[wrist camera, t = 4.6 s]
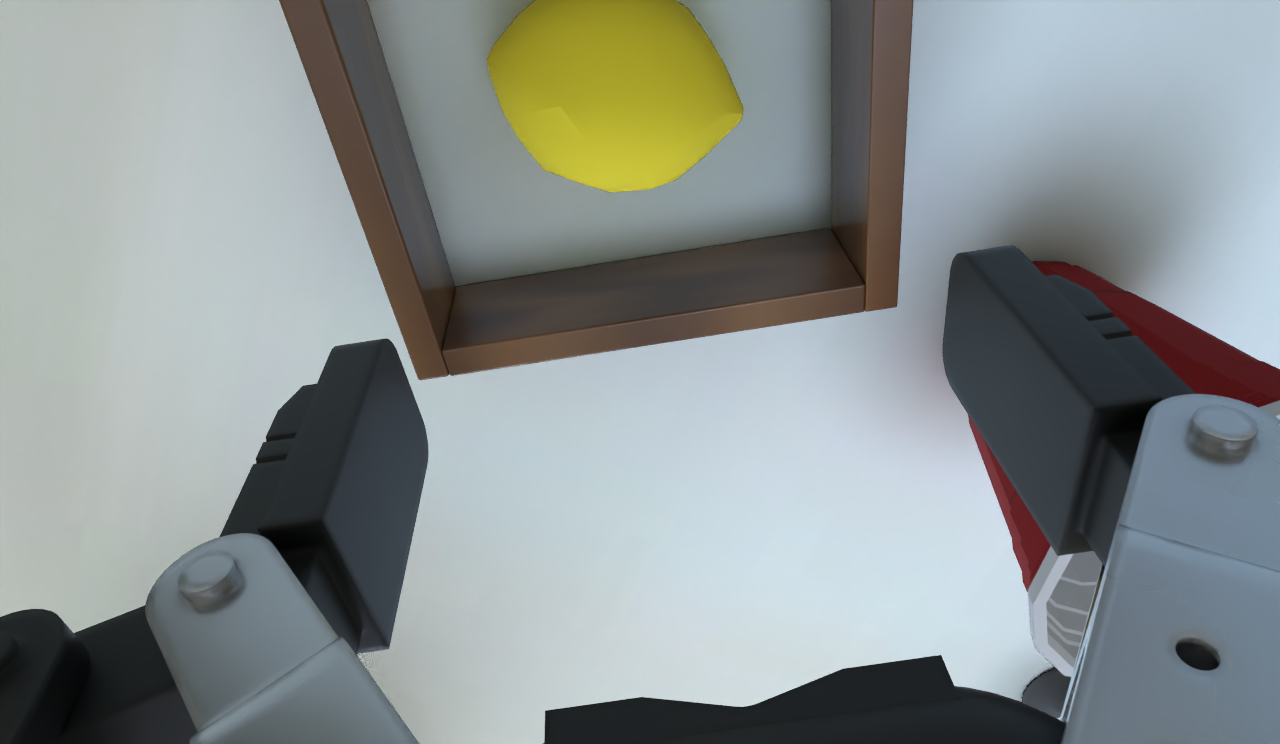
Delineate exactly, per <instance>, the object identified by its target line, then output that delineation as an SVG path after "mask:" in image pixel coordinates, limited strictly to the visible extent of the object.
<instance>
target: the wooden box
mask: <svg viewBox="0 0 1280 744" xmlns="http://www.w3.org/2000/svg"><path fill="white" fill-rule="evenodd" d="M279 1H280V4H281V7H282V10H283V12H284V15H285V18H286V20H287V23H288V26H289V29H290V31H291V34H292V37H293V39H294V42H295V45H296V48H297V50H298V53H299V56H300V59H301V61H302V64H303V67H304V69H305V72H306V75H307V78H308V80H309V83H310V86H311V89H312V91H313V94H314V97H315V99H316V102H317V105H318V108H319V110H320V113H321V116H322V118H323V121H324V124H325V127H326V129H327V132H328V135H329V138H330V140H331V143H332V146H333V148H334V151H335V154H336V157H337V159H338V162H339V165H340V167H341V170H342V173H343V176H344V178H345V181H346V184H347V187H348V189H349V192H350V195H351V197H352V200H353V203H354V206H355V208H356V211H357V214H358V216H359V219H360V222H361V225H362V227H363V230H364V233H365V236H366V238H367V241H368V244H369V246H370V249H371V252H372V255H373V257H374V260H375V263H376V266H377V268H378V271H379V274H380V276H381V279H382V282H383V285H384V287H385V290H386V293H387V295H388V298H389V301H390V304H391V306H392V309H393V312H394V315H395V317H396V320H397V323H398V325H399V328H400V331H401V334H402V336H403V339H404V342H405V344H406V347H407V350H408V353H409V355H410V358H411V361H412V364H413V366H414V369H415V372H416V374H417V377H418V379H419V380H426V379H433V378H439V377H446V376H448V375H449V374H450V375H451V376H454V375H461V374H467V373H473V372H480V371H486V370H493V369H499V368H506V367H512V366H518V365H525V364H531V363H538V362H544V361H551V360H557V359H564V358H570V357H576V356H583V355H589V354H596V353H602V352H609V351H615V350H621V349H628V348H634V347H641V346H647V345H654V344H660V343H667V342H673V341H679V340H686V339H692V338H699V337H705V336H712V335H718V334H724V333H731V332H737V331H744V330H750V329H757V328H763V327H770V326H776V325H782V324H789V323H795V322H802V321H808V320H815V319H821V318H827V317H834V316H840V315H847V314H853V313H860V312H864V310H865V311H866V312H868V311H874V310H881V309H887V308H893V307H897V297H898V278H899V260H900V241H901V222H902V203H903V185H904V166H905V147H906V128H907V110H908V91H909V72H910V53H911V35H912V16H913V0H831V87H832V229H831V228H827V229H821V230H814V231H808V232H802V233H795V234H789V235H783V236H776V237H770V238H764V239H757V240H751V241H745V242H738V243H732V244H726V245H719V246H713V247H706V248H700V249H694V250H687V251H681V252H675V253H668V254H662V255H656V256H649V257H643V258H637V259H630V260H624V261H618V262H611V263H605V264H599V265H592V266H586V267H580V268H573V269H567V270H561V271H554V272H548V273H541V274H535V275H529V276H522V277H516V278H510V279H503V280H497V281H491V282H484V283H478V284H472V285H465V286H459V287H456V289H455V286H454V282H453V279H452V276H451V273H450V270H449V266H448V263H447V260H446V257H445V253H444V250H443V247H442V244H441V240H440V237H439V234H438V231H437V228H436V224H435V221H434V218H433V215H432V211H431V208H430V205H429V202H428V198H427V195H426V192H425V189H424V186H423V182H422V179H421V176H420V173H419V169H418V166H417V163H416V160H415V156H414V153H413V150H412V147H411V144H410V140H409V137H408V134H407V131H406V127H405V124H404V121H403V118H402V114H401V111H400V108H399V105H398V102H397V98H396V95H395V92H394V89H393V85H392V82H391V79H390V76H389V72H388V69H387V66H386V63H385V59H384V56H383V53H382V50H381V47H380V43H379V40H378V37H377V34H376V30H375V27H374V24H373V21H372V17H371V14H370V11H369V8H368V5H367V1H366V0H279Z"/></svg>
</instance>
